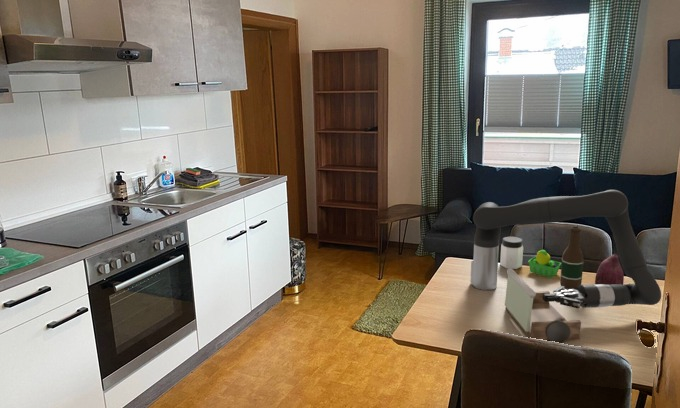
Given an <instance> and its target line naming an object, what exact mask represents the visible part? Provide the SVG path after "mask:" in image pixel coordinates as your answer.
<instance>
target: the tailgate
mask: <svg viewBox="0 0 680 408" xmlns="http://www.w3.org/2000/svg"><path fill="white" fill-rule="evenodd" d="M506 273H507V281H506V282H507V283H506V289H505V299H504V306H505V308H506V307H507V309H508V310H509V311H510V312H511V314H512V315H513V316H514V317H515V319H516V320H517V321H518V322H519V324H520V325H521V326H522V327H523V329H524V330H525V331H526V332H529V328H530V321H531V313H532V305H533V297H535V295H536V293H535V292H536V291H535V290H534V289H533V288H532V287H530V285H529V284H527V282H525V281H524V279H523V278H521V277H520V275H519V274H517V272H516V271H515V269H511V268H510V269H508V268H507V269H506ZM507 309H506V310H507Z"/></svg>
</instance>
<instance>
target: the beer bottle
mask: <svg viewBox="0 0 680 408" xmlns="http://www.w3.org/2000/svg"><path fill="white" fill-rule="evenodd" d="M569 231H570V233H569V241H568V245H567V246H566V248H565V249H564V251H563V253H562V256H561V266H560V278H559V279H560V280H559V283H560V286H564V289H567V290H568V289H575V290H576V289H577V288H578V287H579V286H580V285H582V282H583V273H584V271H583V269H584V255H583V252H582V250H581V248H580V237H581V236H580V233H581V232H582V229H581V228H580V227H579V226H571V227H570V229H569Z"/></svg>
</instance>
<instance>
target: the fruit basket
mask: <svg viewBox="0 0 680 408" xmlns="http://www.w3.org/2000/svg"><path fill="white" fill-rule="evenodd" d="M527 262H528V267H529V271H530V273H532V274H536V275H539V276H542V277H548V278H550V279H551V278H554V277H555V276H556V275H558V272H559V270H560V268H561V265H562V262H560V261H556V260H552V259H551V255H550V254H549V253H548V252H547V251H546V250H545V249H541V250H539V251H537V252H536V256H534V257H532V258H530V259H529V260H528V261H527Z"/></svg>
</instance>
